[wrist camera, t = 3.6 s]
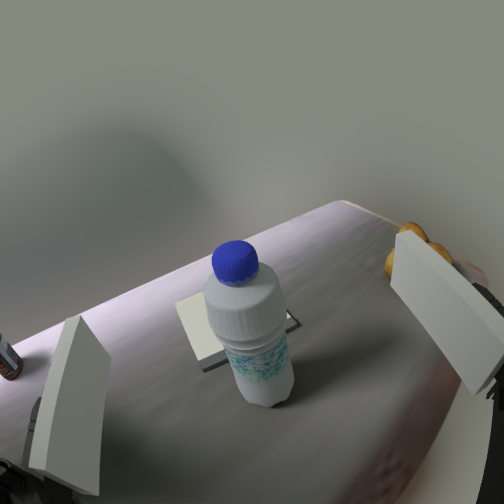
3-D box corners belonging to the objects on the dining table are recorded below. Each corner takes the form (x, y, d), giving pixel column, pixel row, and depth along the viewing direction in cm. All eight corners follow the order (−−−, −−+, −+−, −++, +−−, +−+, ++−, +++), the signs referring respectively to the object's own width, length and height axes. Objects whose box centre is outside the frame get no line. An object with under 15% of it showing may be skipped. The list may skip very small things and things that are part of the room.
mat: (203, 372, 36) (202, 369, 35) (175, 305, 47) (174, 302, 47) (297, 326, 39) (297, 323, 39) (250, 273, 51) (250, 270, 51)
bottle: (294, 363, 35) (273, 217, 24) (299, 409, 29) (281, 267, 18) (240, 369, 35) (192, 231, 24) (239, 416, 30) (176, 282, 19)
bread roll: (463, 286, 38) (475, 244, 34) (436, 319, 35) (450, 275, 30) (404, 254, 48) (408, 214, 43) (371, 279, 44) (375, 236, 40)
